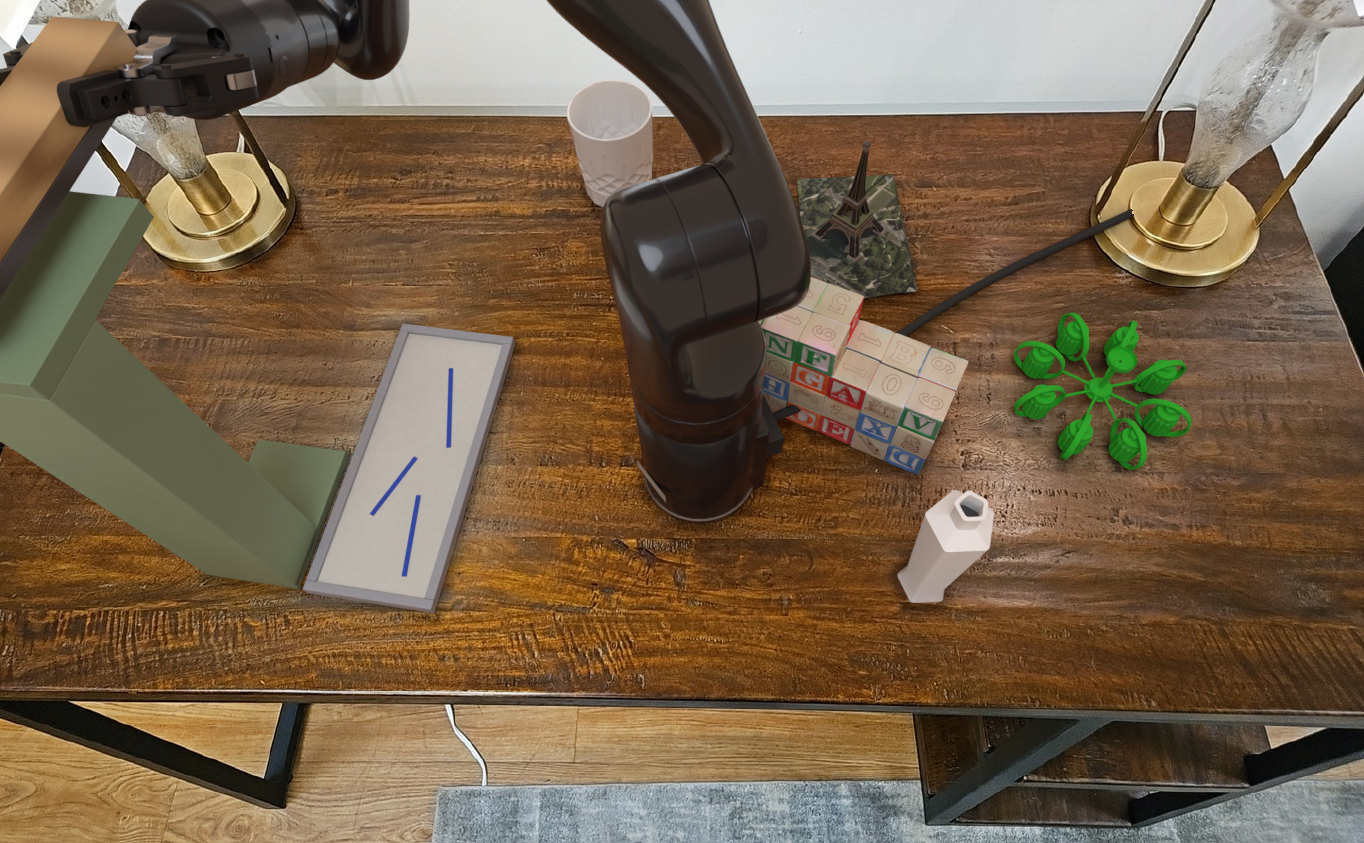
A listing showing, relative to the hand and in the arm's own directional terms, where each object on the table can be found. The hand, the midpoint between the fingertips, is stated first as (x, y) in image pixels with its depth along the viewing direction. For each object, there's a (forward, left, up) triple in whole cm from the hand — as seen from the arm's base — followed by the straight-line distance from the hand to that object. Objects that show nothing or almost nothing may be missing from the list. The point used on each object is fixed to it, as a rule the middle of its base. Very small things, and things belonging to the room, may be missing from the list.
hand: (28, 102), depth 45 cm
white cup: (-34, -17, -37) cm, 53 cm away
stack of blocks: (-42, +13, -37) cm, 58 cm away
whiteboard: (-8, +6, -37) cm, 38 cm away
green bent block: (+4, +7, -37) cm, 38 cm away
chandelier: (-64, +22, -37) cm, 77 cm away
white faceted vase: (-43, +31, -37) cm, 65 cm away
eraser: (+2, +3, -3) cm, 4 cm away
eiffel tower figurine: (-53, -2, -37) cm, 65 cm away
